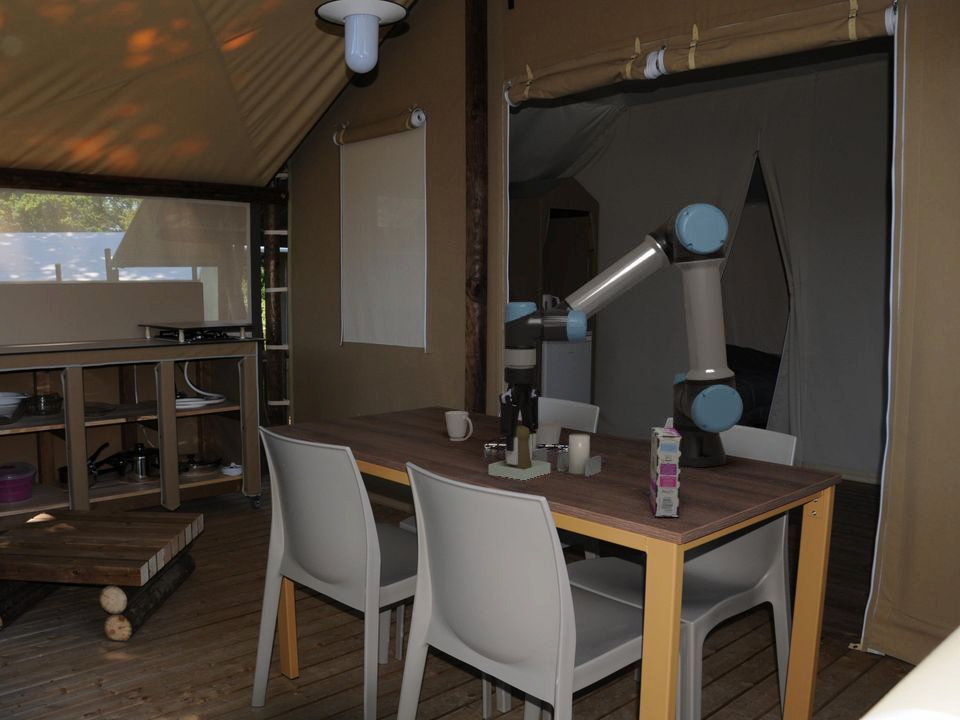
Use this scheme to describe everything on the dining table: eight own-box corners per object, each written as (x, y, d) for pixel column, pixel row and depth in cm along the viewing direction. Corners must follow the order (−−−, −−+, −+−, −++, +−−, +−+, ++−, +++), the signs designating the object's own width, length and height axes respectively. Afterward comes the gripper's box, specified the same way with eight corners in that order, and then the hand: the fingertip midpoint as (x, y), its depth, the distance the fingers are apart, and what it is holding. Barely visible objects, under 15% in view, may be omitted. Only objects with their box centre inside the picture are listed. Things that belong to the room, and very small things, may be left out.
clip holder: (600, 472, 208) (601, 455, 208) (587, 476, 204) (588, 459, 203) (519, 459, 224) (519, 444, 223) (505, 462, 219) (505, 447, 219)
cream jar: (593, 471, 209) (593, 435, 208) (582, 474, 205) (582, 438, 204) (575, 468, 212) (576, 433, 211) (564, 472, 208) (565, 435, 207)
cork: (515, 475, 203) (514, 430, 201) (503, 470, 208) (502, 425, 207) (537, 471, 205) (536, 427, 204) (524, 466, 211) (523, 423, 209)
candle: (561, 443, 245) (561, 422, 245) (561, 449, 236) (561, 427, 236) (530, 443, 246) (530, 421, 246) (529, 449, 237) (529, 426, 237)
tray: (550, 473, 207) (550, 462, 207) (524, 480, 199) (524, 470, 199) (515, 467, 214) (515, 457, 214) (488, 474, 206) (488, 464, 205)
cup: (458, 436, 257) (457, 410, 256) (480, 441, 250) (480, 413, 249) (440, 439, 252) (440, 412, 251) (462, 444, 245) (462, 416, 244)
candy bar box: (680, 519, 167) (682, 436, 165) (654, 518, 167) (656, 436, 166) (673, 504, 178) (674, 426, 176) (649, 503, 178) (650, 426, 177)
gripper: (529, 362, 213) (528, 454, 216) (484, 368, 199) (483, 466, 202) (554, 364, 209) (553, 457, 211) (509, 370, 195) (509, 470, 197)
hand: (519, 461), depth 206 cm, fingers closed on cork, 5 cm apart
